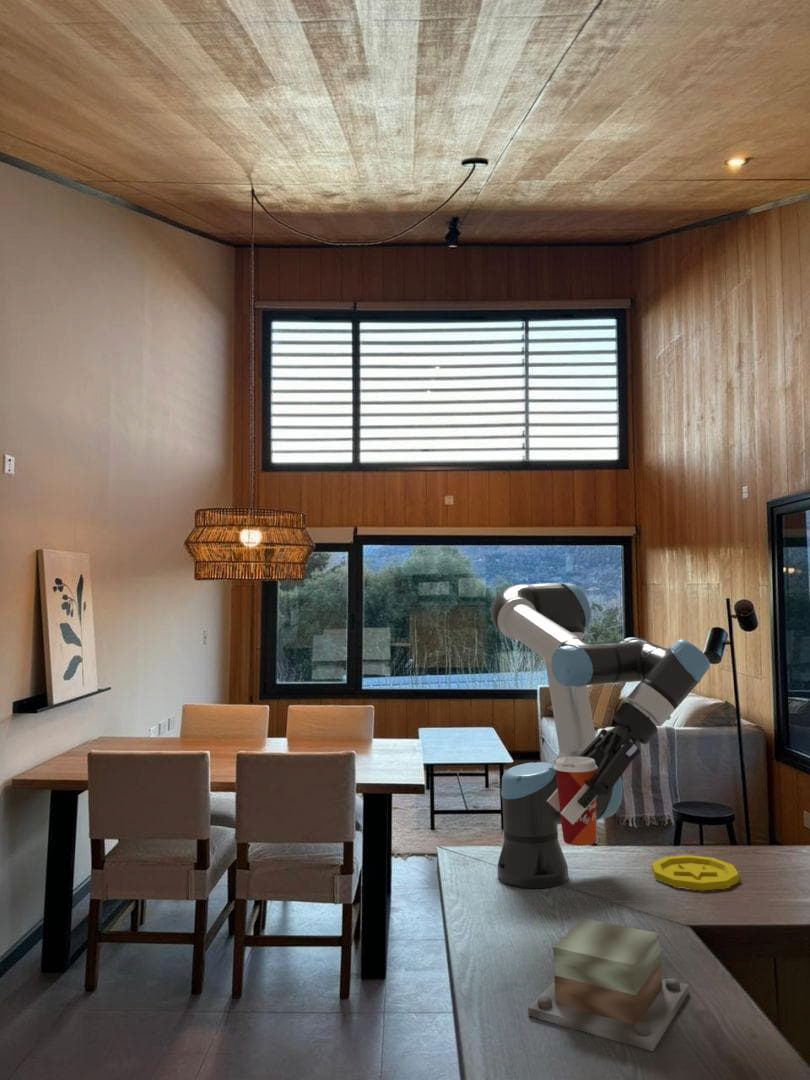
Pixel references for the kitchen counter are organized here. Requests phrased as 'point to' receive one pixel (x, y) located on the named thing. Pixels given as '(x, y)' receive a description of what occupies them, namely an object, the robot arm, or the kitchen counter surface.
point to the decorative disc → (695, 872)
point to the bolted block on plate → (610, 985)
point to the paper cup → (569, 783)
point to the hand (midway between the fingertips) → (559, 812)
